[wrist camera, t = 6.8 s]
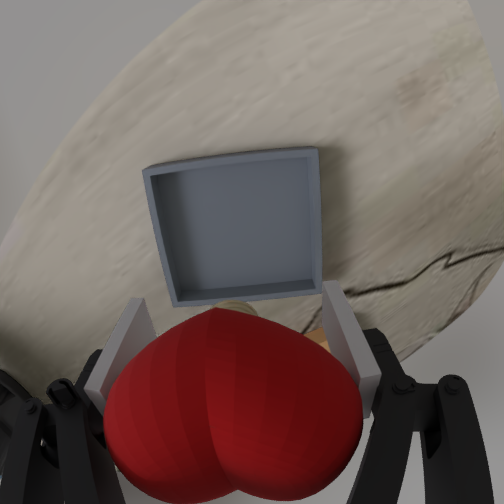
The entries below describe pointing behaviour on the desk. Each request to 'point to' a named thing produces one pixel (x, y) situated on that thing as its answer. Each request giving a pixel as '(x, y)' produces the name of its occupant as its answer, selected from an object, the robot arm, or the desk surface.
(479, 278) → the desk surface
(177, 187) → the parts tray
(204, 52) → the desk surface
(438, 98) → the desk surface
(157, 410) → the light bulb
